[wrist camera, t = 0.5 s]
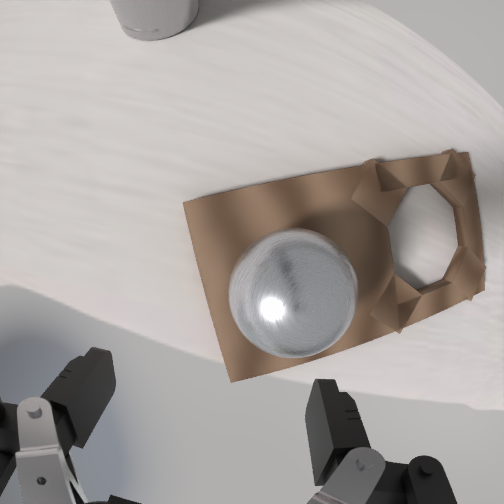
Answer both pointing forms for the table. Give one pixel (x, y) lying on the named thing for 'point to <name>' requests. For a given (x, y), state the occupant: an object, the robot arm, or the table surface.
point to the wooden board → (346, 237)
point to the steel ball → (293, 293)
